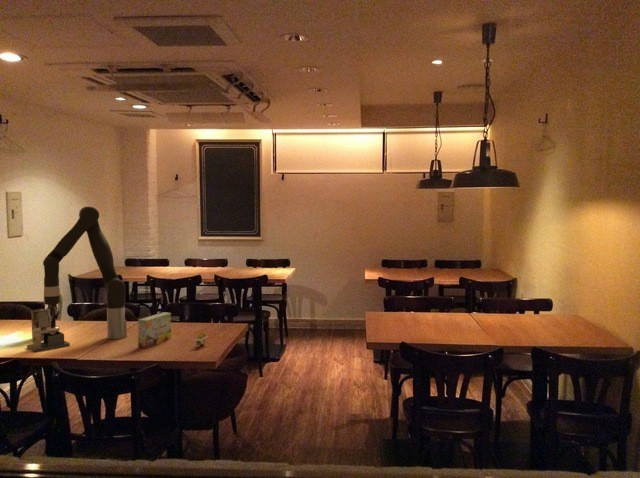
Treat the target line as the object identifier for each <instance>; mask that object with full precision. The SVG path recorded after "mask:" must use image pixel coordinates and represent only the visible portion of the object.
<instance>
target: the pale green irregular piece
mask: <svg viewBox="0 0 640 478" xmlns="http://www.w3.org/2000/svg"><path fill="white" fill-rule="evenodd" d="M208 336H209V335H206V333H200V334H198V335H197V337H196V338H194V339H193V341H194V342H196V343H195V344H196V346H198V345H200V344H202V343H203V344H205V345H206V339H207V338H208Z"/></svg>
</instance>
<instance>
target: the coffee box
mask: <svg viewBox="0 0 640 478" xmlns="http://www.w3.org/2000/svg"><path fill="white" fill-rule="evenodd" d="M30 311H31V312H30V313H31V314H30V315H31V333H32V334H31V337H32V340H33V329H34V328H41V331H46V330H47V327H50V320H49V318H48V315H47V311H46V309H45V308H38V309H33V310H30ZM45 333H51V332H45ZM45 333H41V342H43V334H45Z"/></svg>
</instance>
